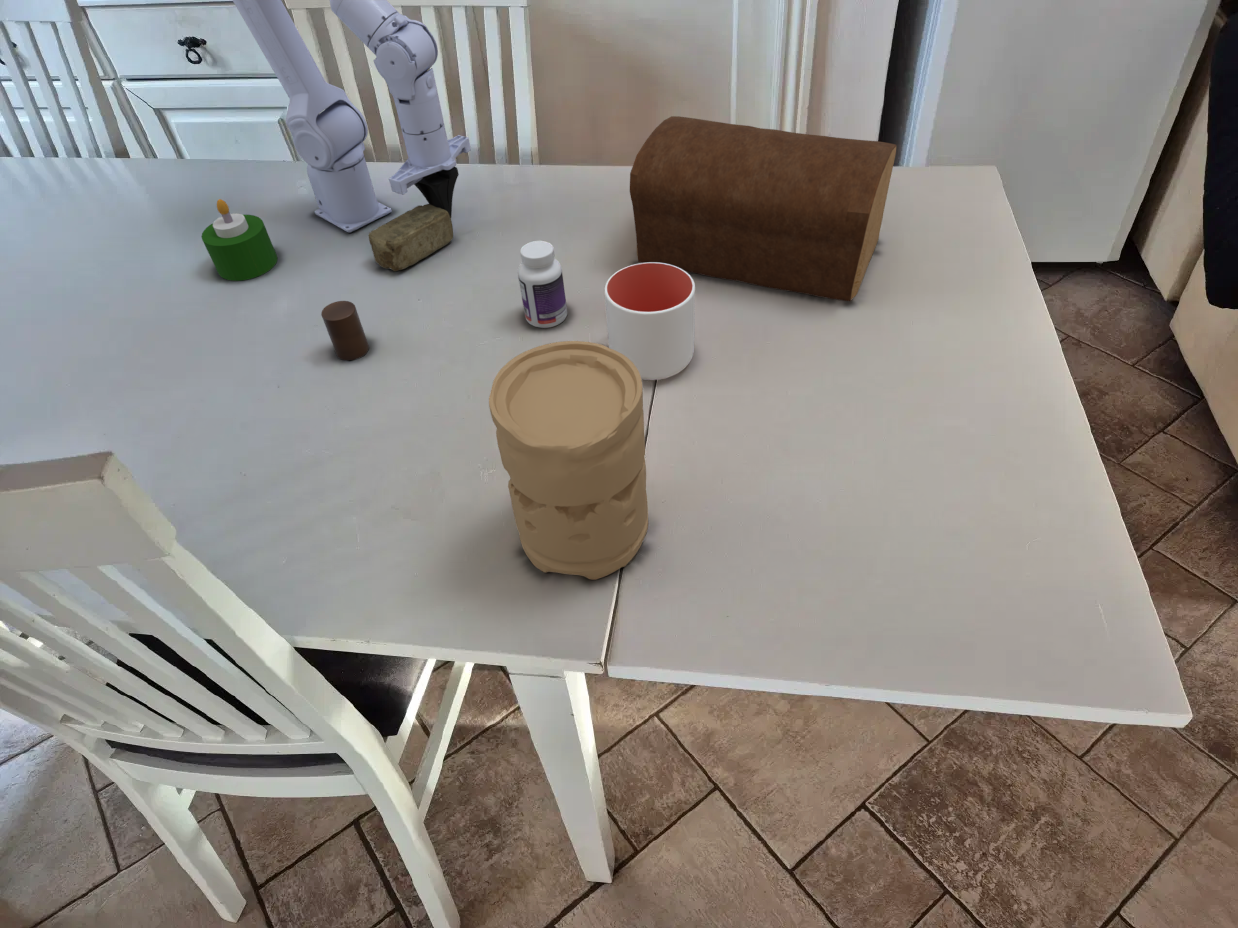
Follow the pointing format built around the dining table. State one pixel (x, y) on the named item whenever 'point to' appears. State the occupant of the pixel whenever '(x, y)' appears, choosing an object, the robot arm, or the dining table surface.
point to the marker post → (345, 330)
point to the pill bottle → (541, 285)
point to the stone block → (411, 237)
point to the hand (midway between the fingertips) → (443, 218)
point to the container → (574, 455)
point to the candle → (239, 245)
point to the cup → (652, 317)
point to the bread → (760, 204)
